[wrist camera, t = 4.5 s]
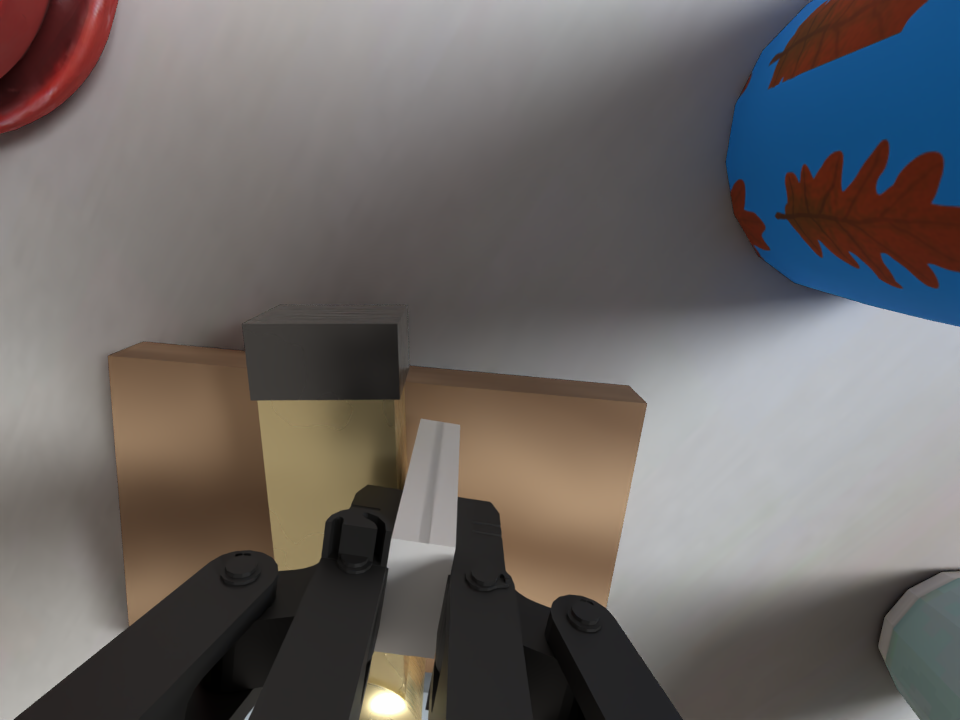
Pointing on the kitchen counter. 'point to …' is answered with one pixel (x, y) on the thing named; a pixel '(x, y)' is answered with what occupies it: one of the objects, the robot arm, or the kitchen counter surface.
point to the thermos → (857, 154)
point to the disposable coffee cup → (926, 647)
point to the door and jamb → (482, 468)
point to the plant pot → (47, 53)
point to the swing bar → (333, 441)
